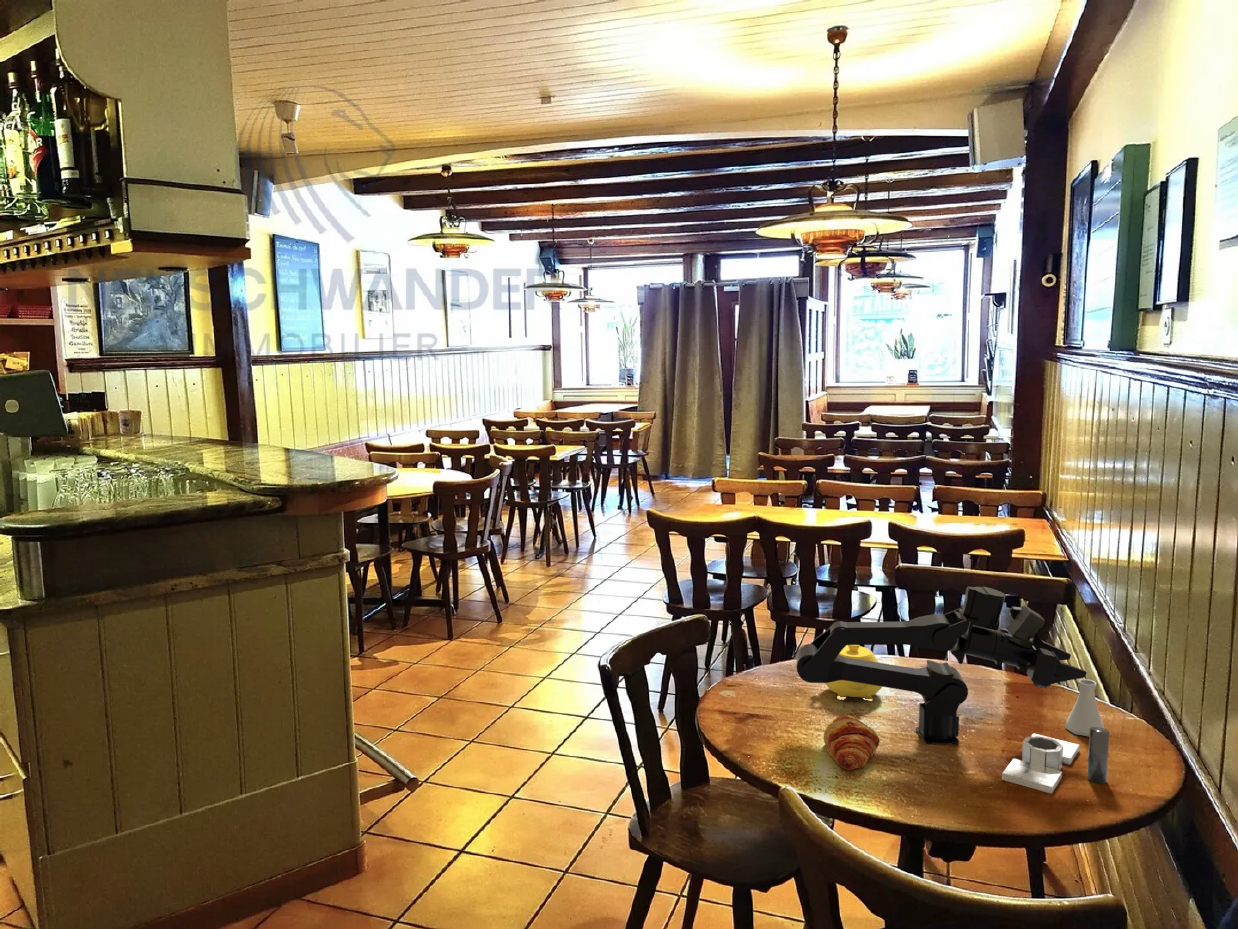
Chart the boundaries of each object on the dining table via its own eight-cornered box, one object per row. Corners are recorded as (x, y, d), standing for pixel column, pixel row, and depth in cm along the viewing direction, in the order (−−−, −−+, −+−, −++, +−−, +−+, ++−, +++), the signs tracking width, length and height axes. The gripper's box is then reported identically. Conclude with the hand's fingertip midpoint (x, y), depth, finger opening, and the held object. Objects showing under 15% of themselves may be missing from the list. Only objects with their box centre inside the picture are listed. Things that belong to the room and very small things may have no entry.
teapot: (810, 676, 201) (811, 628, 199) (875, 678, 199) (877, 630, 197) (818, 710, 181) (819, 658, 180) (891, 713, 179) (892, 660, 178)
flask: (1111, 739, 166) (1114, 690, 164) (1070, 737, 167) (1073, 687, 166) (1098, 724, 173) (1101, 676, 171) (1059, 721, 174) (1062, 674, 173)
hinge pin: (1092, 784, 149) (1095, 734, 148) (1083, 775, 152) (1086, 727, 151) (1110, 783, 149) (1113, 734, 148) (1101, 775, 152) (1103, 727, 151)
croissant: (835, 743, 174) (817, 708, 174) (881, 725, 171) (863, 689, 171) (834, 792, 153) (813, 752, 154) (887, 773, 151) (865, 732, 151)
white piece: (1002, 779, 151) (1002, 758, 150) (1033, 739, 166) (1034, 719, 166) (1051, 793, 146) (1052, 771, 145) (1079, 750, 161) (1080, 730, 161)
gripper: (1014, 620, 153) (1107, 641, 151) (991, 591, 171) (1073, 610, 169) (998, 678, 155) (1090, 700, 152) (977, 643, 173) (1058, 663, 171)
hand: (1077, 665), depth 161 cm, fingers open, 9 cm apart
